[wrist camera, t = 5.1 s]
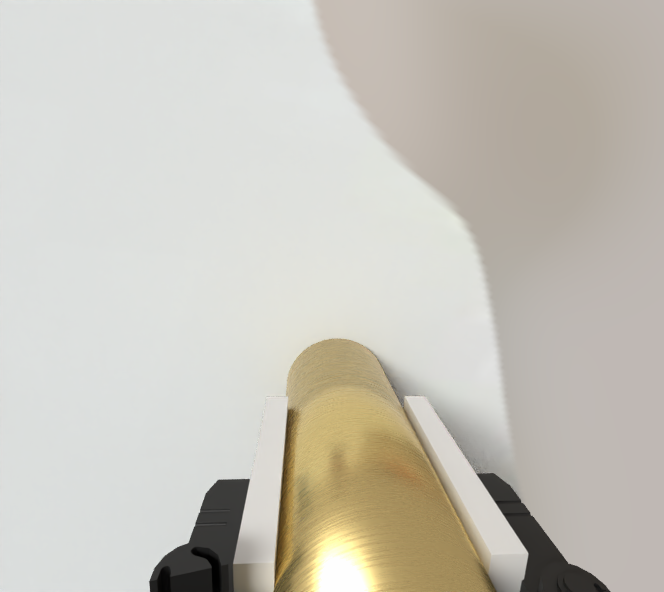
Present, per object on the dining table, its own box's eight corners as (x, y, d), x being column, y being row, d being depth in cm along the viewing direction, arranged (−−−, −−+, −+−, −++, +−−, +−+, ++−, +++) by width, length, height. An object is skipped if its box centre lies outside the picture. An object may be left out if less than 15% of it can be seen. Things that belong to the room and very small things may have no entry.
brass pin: (380, 428, 18) (522, 821, 6) (285, 429, 18) (255, 846, 6) (387, 339, 17) (569, 610, 6) (287, 337, 17) (255, 624, 5)
